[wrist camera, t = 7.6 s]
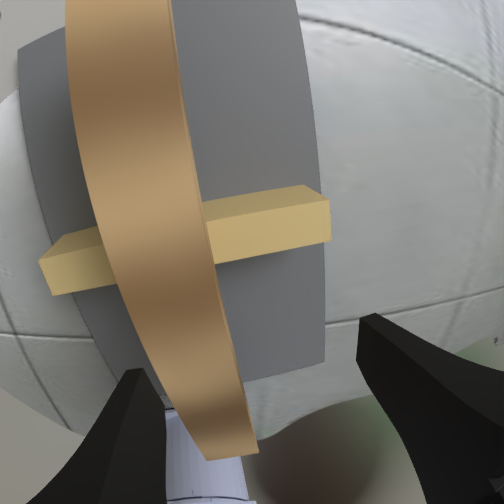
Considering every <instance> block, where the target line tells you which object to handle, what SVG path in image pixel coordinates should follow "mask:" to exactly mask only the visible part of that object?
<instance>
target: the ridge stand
mask: <svg viewBox="0 0 504 504" xmlns="http://www.w3.org/2000/svg"><path fill="white" fill-rule="evenodd" d="M171 5H172V14H173V22H174V31H175V38H176V46H177V54H178V61H179V68H180V75H181V82H182V89H183V95H184V102H185V108H186V114H187V120H188V127H189V133H190V139H191V144H192V150H193V156H194V162H195V167H196V173H197V178H198V184H199V189H200V194H201V199H202V205H203V210H204V215H205V220H206V225H207V230H208V235H209V240H210V245H211V249H212V254H213V259H214V264H215V268H216V273H217V278H218V282H219V287H220V291H221V296H222V300H223V305H224V309H225V313H226V318H227V322H228V326H229V330H230V335H231V339H232V343H233V347H234V351H235V355H236V359H237V363H238V367H239V371H240V375H241V379H242V382H246V381H251V380H256V379H260V378H264V377H269V376H273V375H277V374H281V373H285V372H289V371H293V370H297V369H301V368H304V367H308V366H312V365H315V364H319V363H322V362H324V356H325V265H324V242H327V241H331V221H330V201H329V199H327V198H326V197H324V196H322V195H321V186H320V173H319V161H318V150H317V140H316V131H315V122H314V113H313V105H312V97H311V90H310V83H309V76H308V69H307V63H306V56H305V50H304V44H303V38H302V33H301V27H300V22H299V17H298V12H297V7H296V2H295V0H171ZM17 55H18V80H19V94H20V104H21V113H22V120H23V127H24V134H25V140H26V145H27V151H28V156H29V161H30V166H31V170H32V175H33V179H34V183H35V187H36V191H37V195H38V199H39V202H40V206H41V209H42V213H43V216H44V219H45V223H46V226H47V229H48V232H49V235H50V238H51V241H52V244H53V246H52V247H51V248H50V249H49V250H48V251H47V252H46V253H45V254H44V255H43V256H42V257H41V258H40V259H39V260H38V262H39V264H40V267H41V269H42V272H43V274H44V276H45V279H46V281H47V284H48V286H49V288H50V290H51V293H52V295H53V296H55V295H61V294H66V293H71V292H72V295H73V297H74V299H75V301H76V304H77V306H78V308H79V310H80V312H81V314H82V316H83V319H84V321H85V323H86V325H87V327H88V329H89V331H90V333H91V335H92V337H93V338H94V340H95V342H96V344H97V346H98V348H99V350H100V352H101V353H102V355H103V357H104V359H105V361H106V362H107V364H108V366H109V367H110V369H111V371H112V373H113V374H114V376H115V378H116V379H117V381H118V383H119V381H120V379H121V378H122V376H123V374H124V373H125V371H126V370H129V369H136V368H144V370H145V372H146V374H147V376H148V378H149V379H150V381H151V383H152V385H153V387H154V388H155V390H156V392H157V394H158V395H159V396H160V395H167V393H166V391H165V390H164V388H163V386H162V384H161V382H160V380H159V378H158V376H157V374H156V372H155V370H154V368H153V366H152V364H151V362H150V360H149V358H148V355H147V353H146V351H145V349H144V347H143V345H142V342H141V340H140V338H139V336H138V333H137V331H136V329H135V327H134V324H133V322H132V319H131V317H130V315H129V312H128V310H127V307H126V305H125V302H124V300H123V297H122V295H121V292H120V289H119V287H118V284H117V281H116V279H115V276H114V273H113V270H112V268H111V265H110V262H109V259H108V256H107V253H106V250H105V247H104V244H103V241H102V237H101V234H100V231H99V228H98V224H97V221H96V217H95V214H94V210H93V207H92V203H91V199H90V195H89V191H88V187H87V183H86V179H85V175H84V171H83V166H82V161H81V157H80V152H79V147H78V142H77V136H76V131H75V125H74V119H73V112H72V105H71V98H70V89H69V80H68V70H67V57H66V38H65V26H64V27H62V28H60V29H57V30H55V31H53V32H51V33H49V34H47V35H45V36H42V37H40V38H38V39H36V40H35V41H33V42H31V43H29V44H27V45H25V46H23V47H21V48H20V49H18V50H17Z"/></svg>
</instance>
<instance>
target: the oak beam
mask: <svg viewBox="0 0 504 504" xmlns="http://www.w3.org/2000/svg"><path fill="white" fill-rule="evenodd" d="M65 38H66V57H67V70H68V80H69V89H70V98H71V105H72V112H73V119H74V125H75V131H76V136H77V142H78V147H79V152H80V157H81V161H82V166H83V171H84V175H85V179H86V183H87V187H88V191H89V195H90V199H91V203H92V207H93V210H94V214H95V217H96V221H97V224H98V228H99V231H100V234H101V237H102V241H103V244H104V247H105V250H106V253H107V256H108V259H109V262H110V265H111V268H112V270H113V273H114V276H115V279H116V281H117V284H118V287H119V289H120V292H121V295H122V297H123V300H124V302H125V305H126V307H127V310H128V312H129V315H130V317H131V319H132V322H133V324H134V327H135V329H136V331H137V333H138V336H139V338H140V340H141V342H142V345H143V347H144V349H145V351H146V353H147V355H148V358H149V360H150V362H151V364H152V366H153V368H154V370H155V372H156V374H157V376H158V378H159V380H160V382H161V384H162V386H163V388H164V390H165V391H166V393H167V395H168V397H169V399H170V401H171V403H172V404H173V406H174V408H175V410H176V412H177V413H178V415H179V417H180V419H181V420H182V422H183V424H184V426H185V427H186V429H187V431H188V432H189V434H190V436H191V437H192V439H193V440H194V442H195V444H196V445H197V447H198V448H199V450H200V452H201V453H202V455H203V456H204V458H205V459H206V461H212V460H219V459H226V458H232V457H238V456H243V455H249V454H254V453H258V452H259V450H258V446H257V442H256V437H255V433H254V429H253V425H252V420H251V416H250V411H249V407H248V403H247V399H246V395H245V391H244V387H243V383H242V379H241V375H240V371H239V367H238V363H237V359H236V355H235V351H234V347H233V343H232V339H231V335H230V330H229V326H228V322H227V318H226V313H225V309H224V305H223V300H222V296H221V291H220V287H219V282H218V278H217V273H216V268H215V264H214V259H213V254H212V249H211V245H210V240H209V235H208V230H207V225H206V220H205V215H204V210H203V205H202V199H201V194H200V189H199V184H198V178H197V173H196V167H195V162H194V156H193V150H192V144H191V139H190V133H189V127H188V120H187V114H186V108H185V102H184V95H183V89H182V82H181V75H180V68H179V61H178V54H177V46H176V38H175V31H174V22H173V14H172V5H171V0H65Z"/></svg>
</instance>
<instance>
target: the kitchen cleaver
mask: <svg viewBox="0 0 504 504" xmlns="http://www.w3.org/2000/svg"><path fill="white" fill-rule="evenodd" d="M0 13H1V18H0V103H1V102H2V101H3V100H4V99H5V98H7V97H8V96H9V95H10V94H11V93H12V92H13V91H15V90H16V89H17V88H18V87H19V80H18V55H17V50H18V49H20V48H21V47H23V46H25V45H27V44H29V43H31V42H33V41H35V40H36V39H38V38H40V37H42V36H45V35H47V34H49V33H51V32H53V31H55V30H57V29H60V28H62V27H64V26H65V0H0Z"/></svg>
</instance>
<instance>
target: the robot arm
mask: <svg viewBox="0 0 504 504" xmlns="http://www.w3.org/2000/svg"><path fill="white" fill-rule="evenodd" d="M356 362H357V364H358V366H359V368H360V370H361V373H362V375H363V377H364V379H365V381H366V383H367V385H368V386H369V388H370V389H371V391H372V392H373V394H374V396H375V397H376V399H377V400H378V402H379V403H380V405H381V406H382V408H383V410H384V411H385V413H386V414H387V415H388V417H389V419H390V420H391V422H392V423H393V425H394V427H395V428H396V430H397V432H398V433H399V435H400V437H401V438H402V441H403V443H404V445H405V447H406V449H407V452H408V454H409V456H410V458H411V461H412V463H413V465H414V468H415V470H416V473H417V475H418V478H419V481H420V484H421V487H422V490H423V492H424V495H425V499H426V502H427V504H504V371H499V370H496V369H492V368H489V367H485V366H482V365H479V364H477V363H474V362H471V361H468V360H466V359H463V358H460V357H458V356H456V355H454V354H452V353H449V352H447V351H445V350H443V349H441V348H439V347H437V346H435V345H433V344H431V343H429V342H427V341H425V340H423V339H421V338H420V337H418V336H416V335H414V334H412V333H410V332H409V331H407V330H405V329H403V328H402V327H400V326H398V325H396V324H395V323H393V322H391V321H389V320H388V319H386V318H384V317H382V316H380V315H378V314H377V313H373V314H370V315H367V316H364V317H361V318H360V320H359V333H358V345H357V355H356ZM26 504H256V501H249V497H248V493H247V488H246V483H245V478H244V473H243V469H242V463H241V458H240V456H238V457H232V458H226V459H219V460H212V461H206V459H205V458H204V456H203V455H202V453H201V452H200V450H199V448H198V447H197V445H196V444H195V442H194V440H193V439H192V437H191V436H190V434H189V432H188V431H187V429H186V427H185V426H184V424H183V422H182V420H181V419H180V417H179V415H178V413H177V412H176V410H175V409H172V410H165V407H164V404H163V402H162V400H161V399H160V397H159V395H158V394H157V392H156V390H155V388H154V387H153V385H152V383H151V381H150V379H149V378H148V376H147V374H146V372H145V370H144V368H136V369H129V370H126V371H125V373H124V374H123V376H122V378H121V379H120V381H119V383H118V384H117V386H116V388H115V390H114V391H113V393H112V395H111V396H110V398H109V400H108V402H107V403H106V405H105V407H104V408H103V410H102V412H101V413H100V415H99V417H98V418H97V420H96V422H95V423H94V425H93V427H92V428H91V430H90V431H89V433H88V434H87V436H86V437H85V439H84V441H83V442H82V443H81V445H80V446H79V448H78V449H77V450H76V452H75V453H74V454H73V456H72V457H71V458H70V459H69V461H68V462H67V463H66V464H65V466H64V467H63V468H62V469H61V470H60V471H59V473H58V474H57V475H56V476H55V477H54V478H53V479H52V480H51V481H50V482H49V483H48V484H47V485H46V487H44V488H43V490H41V491H40V492H39V493H38V494H37V495H36V496H35V497H34V498H32V499H31V500H30V501H29V502H28V503H26Z"/></svg>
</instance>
